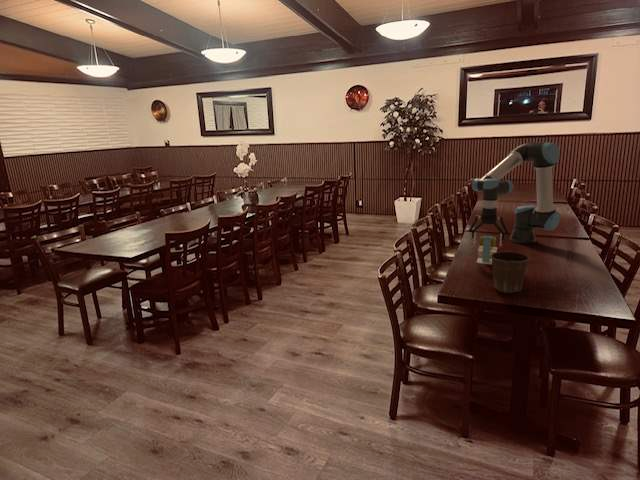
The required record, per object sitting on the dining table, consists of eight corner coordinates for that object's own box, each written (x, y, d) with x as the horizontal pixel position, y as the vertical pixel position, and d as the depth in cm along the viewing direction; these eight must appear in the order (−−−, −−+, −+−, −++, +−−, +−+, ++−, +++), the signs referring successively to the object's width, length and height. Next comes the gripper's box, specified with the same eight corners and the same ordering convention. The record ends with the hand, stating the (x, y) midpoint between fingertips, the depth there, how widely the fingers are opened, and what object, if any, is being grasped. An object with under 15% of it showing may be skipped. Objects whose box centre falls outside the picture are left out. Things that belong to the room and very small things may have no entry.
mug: (488, 250, 249) (488, 234, 251) (475, 252, 259) (475, 236, 260) (503, 251, 255) (502, 235, 256) (490, 252, 264) (489, 237, 265)
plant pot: (488, 293, 193) (490, 260, 189) (488, 281, 207) (490, 250, 203) (527, 297, 187) (530, 262, 183) (524, 284, 202) (527, 252, 197)
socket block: (496, 253, 250) (497, 247, 249) (495, 258, 241) (496, 251, 240) (479, 252, 254) (479, 245, 253) (477, 256, 245) (478, 250, 244)
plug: (490, 259, 237) (491, 236, 234) (489, 262, 234) (491, 238, 230) (482, 259, 239) (483, 235, 236) (481, 261, 235) (482, 237, 232)
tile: (494, 260, 239) (494, 259, 238) (493, 264, 231) (493, 263, 231) (478, 258, 242) (478, 257, 242) (476, 263, 234) (476, 262, 234)
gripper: (464, 207, 230) (463, 244, 236) (514, 209, 220) (511, 248, 226) (466, 205, 237) (464, 241, 243) (514, 206, 227) (511, 244, 232)
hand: (487, 244), depth 234 cm, fingers open, 13 cm apart
